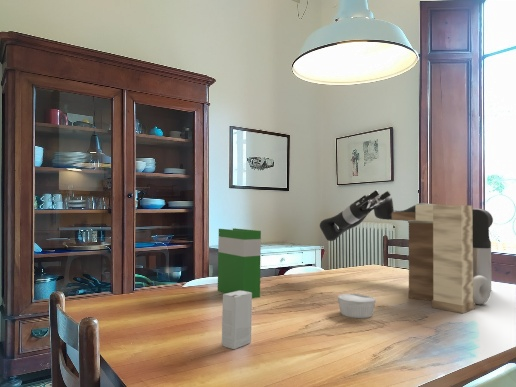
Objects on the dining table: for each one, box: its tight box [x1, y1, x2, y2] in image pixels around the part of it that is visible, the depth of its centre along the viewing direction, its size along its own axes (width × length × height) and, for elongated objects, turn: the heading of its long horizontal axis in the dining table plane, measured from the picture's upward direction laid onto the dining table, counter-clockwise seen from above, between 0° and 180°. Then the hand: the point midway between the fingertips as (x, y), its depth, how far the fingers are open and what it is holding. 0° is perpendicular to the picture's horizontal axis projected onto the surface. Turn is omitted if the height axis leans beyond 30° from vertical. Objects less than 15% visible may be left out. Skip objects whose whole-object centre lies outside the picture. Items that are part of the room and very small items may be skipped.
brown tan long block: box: [391, 204, 433, 221], centre depth 151 cm, size 7×18×6 cm, turn 41°
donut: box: [473, 275, 491, 306], centre depth 135 cm, size 10×4×10 cm, turn 120°
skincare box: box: [221, 291, 253, 350], centre depth 92 cm, size 6×4×12 cm
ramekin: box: [337, 293, 376, 319], centre depth 120 cm, size 11×11×5 cm
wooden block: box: [431, 204, 476, 314], centre depth 130 cm, size 10×10×34 cm
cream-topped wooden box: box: [407, 220, 433, 301], centre depth 146 cm, size 12×13×28 cm
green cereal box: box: [217, 227, 262, 299], centre depth 147 cm, size 18×7×24 cm, turn 36°
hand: (383, 192), depth 162 cm, fingers open, 8 cm apart
